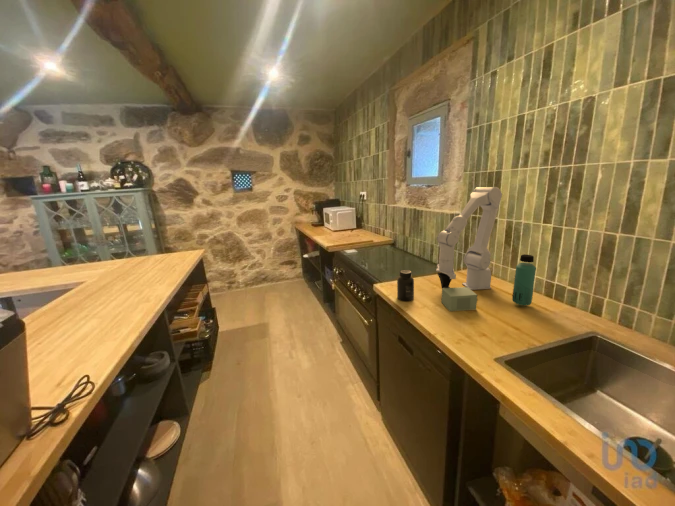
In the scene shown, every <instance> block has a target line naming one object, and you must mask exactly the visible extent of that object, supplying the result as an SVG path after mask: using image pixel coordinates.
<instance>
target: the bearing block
mask: <svg viewBox="0 0 675 506" xmlns="http://www.w3.org/2000/svg"><path fill="white" fill-rule="evenodd" d="M477 301H478V294H477V293H476V292H474V290H470V289H469V288H468V287H466V286H463V287H462V286H461V287H459V286H458V287H450V288H442V287H441V301H440V302H441V304H442V305H443V306H444V307H446V309H447V310H448V311H449V312H457V311H459V312H460V311H474V310H477V303H478V302H477Z"/></svg>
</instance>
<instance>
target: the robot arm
mask: <svg viewBox="0 0 675 506" xmlns="http://www.w3.org/2000/svg"><path fill="white" fill-rule="evenodd" d="M469 196H470V199H469V200H468V202H467V204H466V205H465V206H464V207H463V209H462V211H461V212H460V214H459V215H456V216H454V217H453V218H452V219H451V221H450V222H449V224H447V227H445V229H444V230H442V231H440V232H439V233H438V236H437V237H436V240H437V243H438V247H439V257H438V264H436V269H435V270H436V271H435V272H437V276H438V279H439V281H440V286H441V289H442V288H443V287H444V286H449V287H450V284H451V282H452V280H456V279H457V274H456V273H455V269H454V260H455V247H456V244H457V243H459V239H460V236H461V233H462V232H463V230H464V229H465V228H466V226H467V225H468V219H469V218H470V217H471V216H472V215H473V213H475V211H476V210H477V209H478V208H480V207H481V209H482V213H481V218H480V219H479V220H480V221H479V224H478V227H477V231H476V234H475V239H474V242H473V244H472V245H471V246H470V247H468V248H467V251H466V252H465V254H464V256H463V263H464V264H465V266H466V267H467V268H466V281H465V282H462V285H463V286H464V287H468V288H469V289H470V290H472V291H474V290H475V291H476V290H490V289H492V287H491V282H492V271H491V269H490V268H489V267H490V265H491V256H492V253H491V251H490V250H489V249H488V246H489V242H490V238H491V236H492V231H493V228H494V225H495V222H496V218H497V215H498V211H499V207H500V205H501V204H500V203H501V201H502V197H503V193H502V191H501V189H500V188H499V187H497V186H486V187H485V186H484V187H482V186H477V187H475V188H474V189H473V191H472V192H471V193H470V195H469Z"/></svg>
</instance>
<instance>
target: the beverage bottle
mask: <svg viewBox="0 0 675 506" xmlns="http://www.w3.org/2000/svg"><path fill="white" fill-rule="evenodd" d="M534 258H535V257H534V255H532V254H521V255H520V259H519V261H520V262H519V263H518V264H516V266H515V273H514V278H513V281H514V282H513V289H512V294H511V299H512V302H513V303H514V304H517V305H520V306H529V305H532V301H533V296H534V284H535V277H536V270H537V267H536V266H535V265H534V264H533V263H534Z"/></svg>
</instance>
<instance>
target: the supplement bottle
mask: <svg viewBox="0 0 675 506" xmlns="http://www.w3.org/2000/svg"><path fill="white" fill-rule="evenodd" d="M412 273H413V272H412V271H411V270H409V269H403V270H402V269H400V270H399V277H398V278H397V279H396V280H397V281H396V283H397V284H396V286H397V287H396V291H397V299H398V300H400V301H402V302H410V301H413V300H414V298H415V280H414V278H413V276H412V275H413V274H412Z"/></svg>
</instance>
